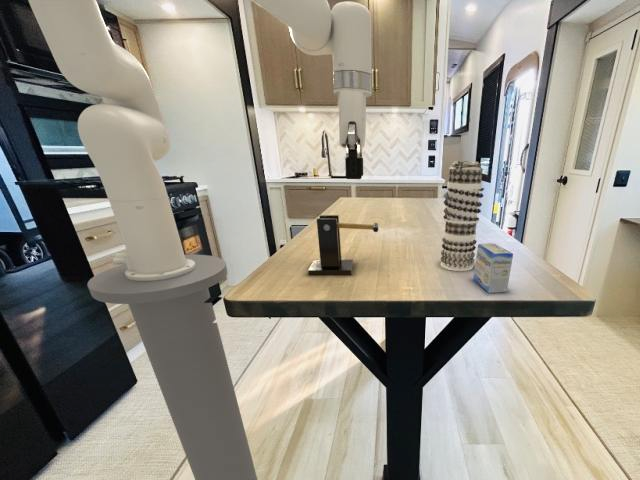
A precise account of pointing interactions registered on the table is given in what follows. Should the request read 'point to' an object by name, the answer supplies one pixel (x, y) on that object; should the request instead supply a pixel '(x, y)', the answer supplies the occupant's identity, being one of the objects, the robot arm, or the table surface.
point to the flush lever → (358, 226)
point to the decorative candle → (461, 215)
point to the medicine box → (492, 267)
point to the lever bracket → (329, 249)
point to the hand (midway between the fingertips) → (355, 177)
